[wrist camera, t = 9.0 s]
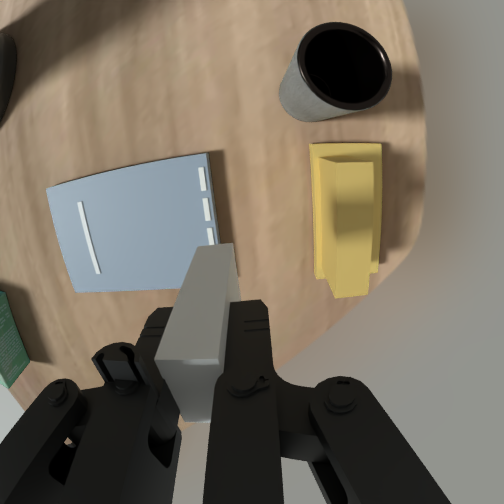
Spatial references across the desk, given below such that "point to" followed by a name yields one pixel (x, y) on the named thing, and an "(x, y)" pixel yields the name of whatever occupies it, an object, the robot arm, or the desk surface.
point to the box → (10, 346)
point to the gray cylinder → (335, 73)
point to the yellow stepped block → (346, 214)
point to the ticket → (135, 224)
